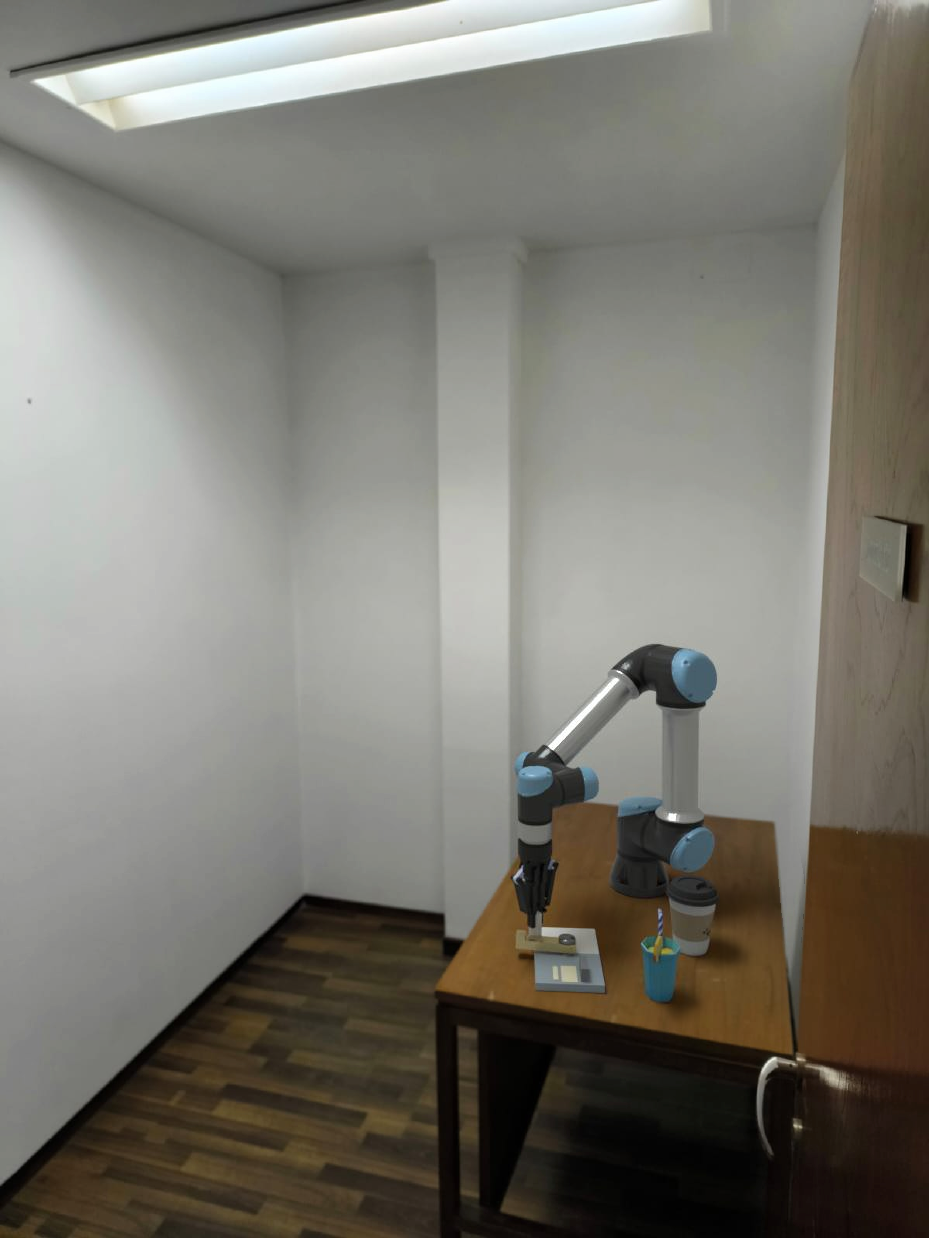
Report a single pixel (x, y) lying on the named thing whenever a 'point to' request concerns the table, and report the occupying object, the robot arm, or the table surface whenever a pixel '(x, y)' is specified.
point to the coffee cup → (692, 912)
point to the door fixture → (570, 964)
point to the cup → (660, 964)
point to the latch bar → (546, 942)
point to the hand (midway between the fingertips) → (535, 939)
